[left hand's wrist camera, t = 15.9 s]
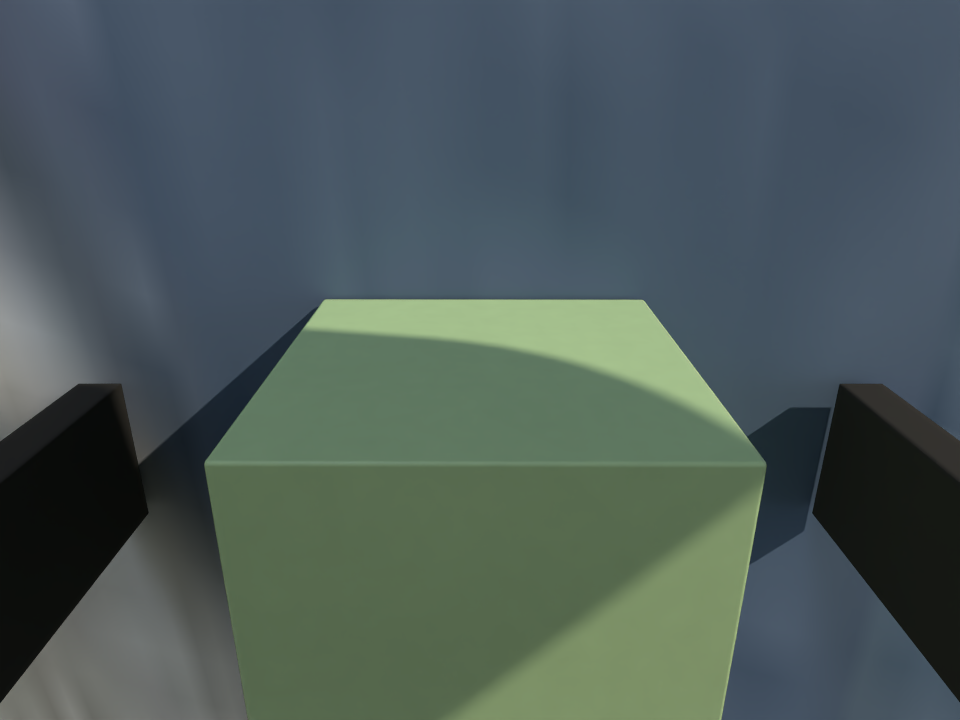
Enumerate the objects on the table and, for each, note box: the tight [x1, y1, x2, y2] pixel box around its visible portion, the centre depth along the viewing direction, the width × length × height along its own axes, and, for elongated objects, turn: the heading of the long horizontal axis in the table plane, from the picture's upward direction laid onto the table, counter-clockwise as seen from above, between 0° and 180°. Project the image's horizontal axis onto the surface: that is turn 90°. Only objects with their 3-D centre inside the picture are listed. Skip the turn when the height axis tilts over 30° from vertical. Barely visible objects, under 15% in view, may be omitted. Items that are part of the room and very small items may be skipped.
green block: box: [204, 300, 767, 720], centre depth 10 cm, size 6×6×6 cm
